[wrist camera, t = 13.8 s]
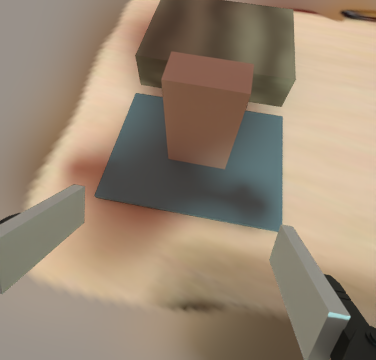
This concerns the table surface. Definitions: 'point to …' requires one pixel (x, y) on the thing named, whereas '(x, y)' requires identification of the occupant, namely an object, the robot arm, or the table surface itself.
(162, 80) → the salmon pink brick
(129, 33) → the table surface
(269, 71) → the brown flat block
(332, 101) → the table surface
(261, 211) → the mat
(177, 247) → the table surface
